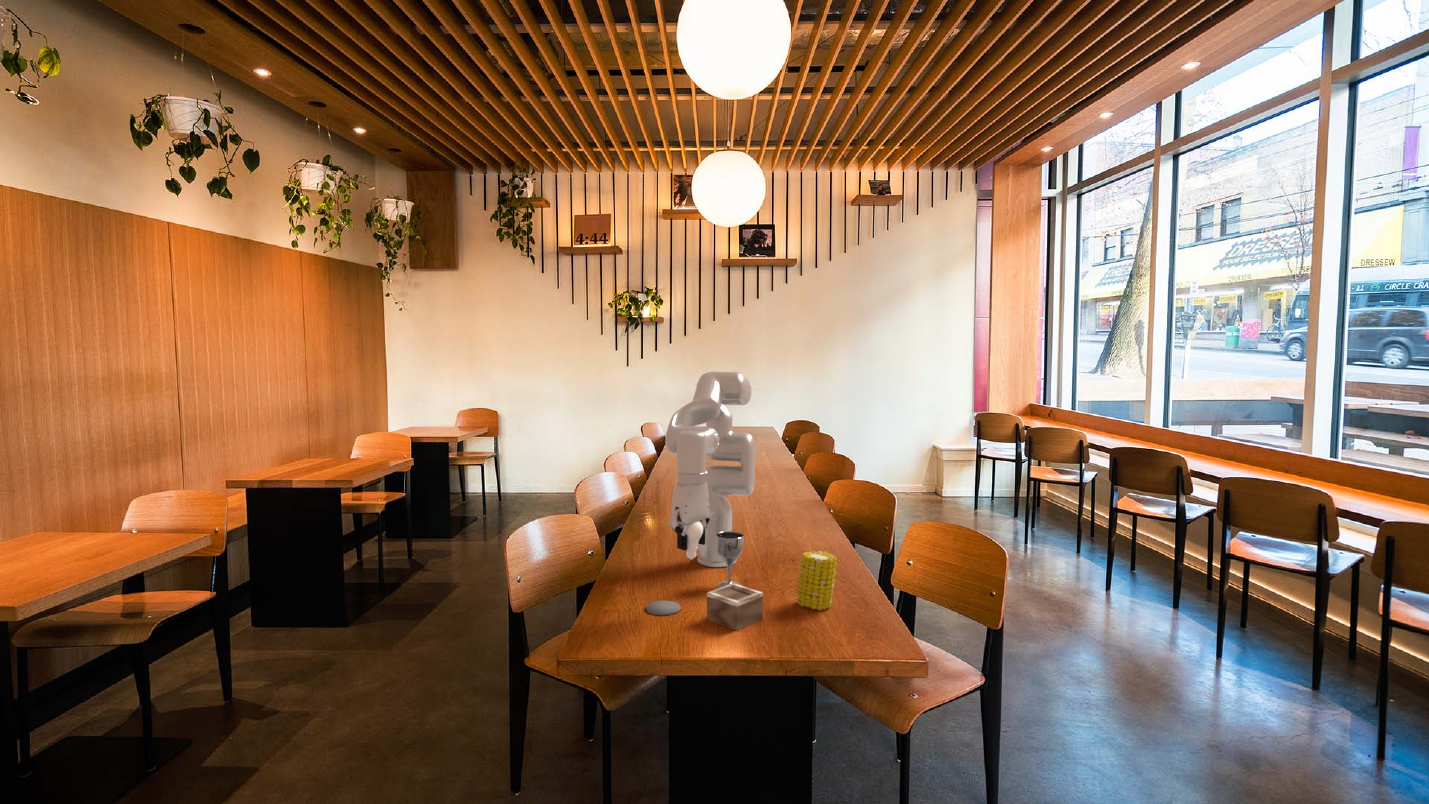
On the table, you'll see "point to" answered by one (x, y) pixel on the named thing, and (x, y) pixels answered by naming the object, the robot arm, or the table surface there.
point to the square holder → (734, 606)
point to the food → (816, 580)
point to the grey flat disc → (663, 608)
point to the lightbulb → (693, 538)
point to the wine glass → (729, 551)
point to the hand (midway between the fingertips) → (691, 545)
